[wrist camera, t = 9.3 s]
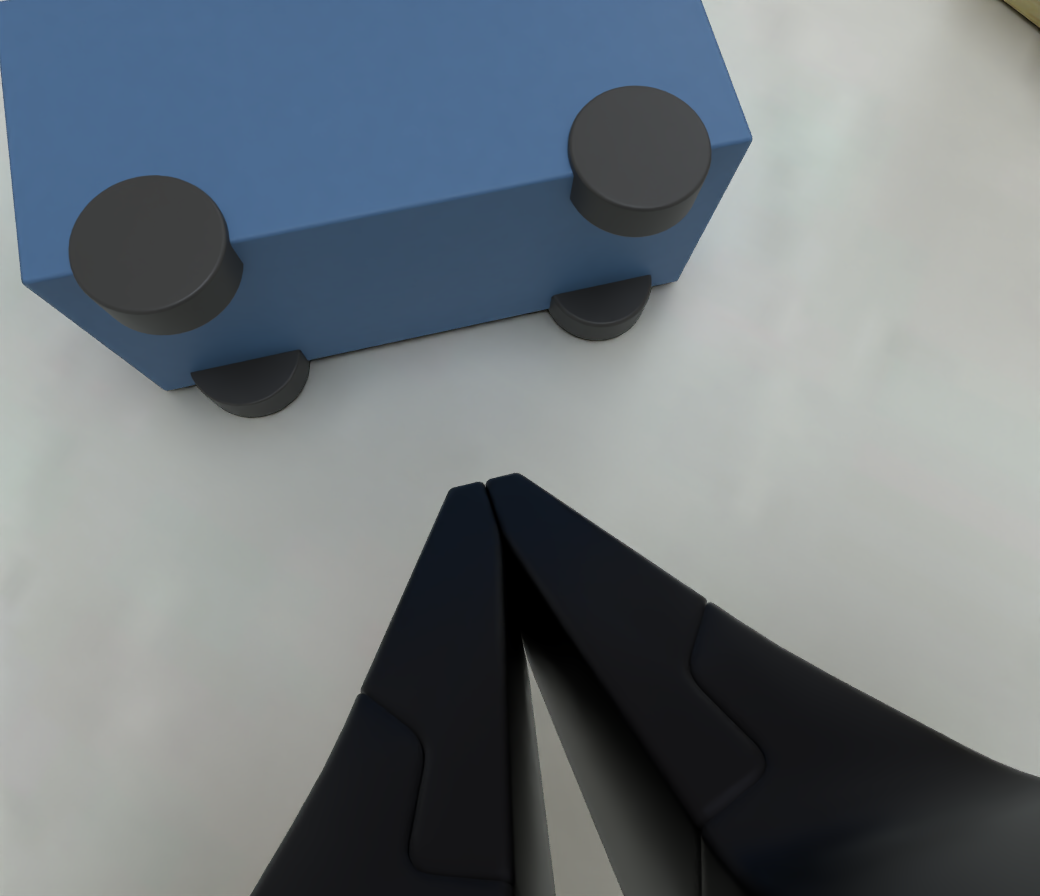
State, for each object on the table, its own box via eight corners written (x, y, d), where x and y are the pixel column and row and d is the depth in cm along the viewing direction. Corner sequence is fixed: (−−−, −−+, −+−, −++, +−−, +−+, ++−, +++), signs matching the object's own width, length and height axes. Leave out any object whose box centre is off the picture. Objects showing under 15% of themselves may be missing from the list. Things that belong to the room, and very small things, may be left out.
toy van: (778, 184, 12) (620, -234, 14) (19, 339, 11) (-28, -143, 13) (688, 322, 17) (584, 3, 19) (174, 436, 16) (123, 83, 18)
